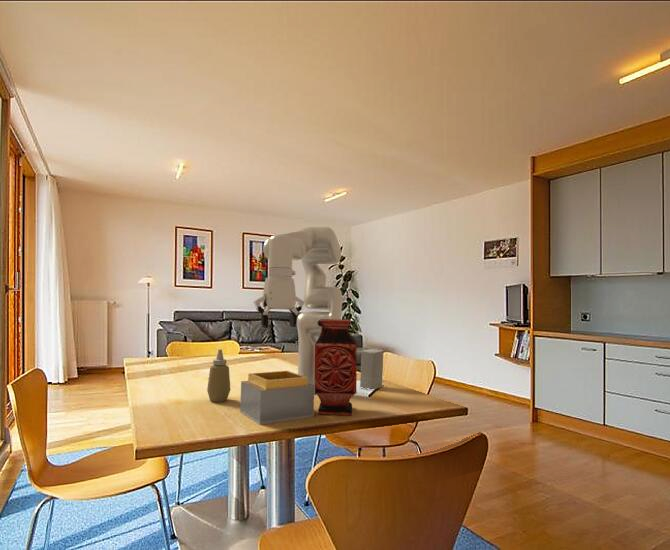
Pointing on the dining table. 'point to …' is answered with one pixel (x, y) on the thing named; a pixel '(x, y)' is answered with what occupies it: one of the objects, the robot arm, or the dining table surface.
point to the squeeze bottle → (219, 379)
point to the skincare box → (371, 368)
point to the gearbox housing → (276, 397)
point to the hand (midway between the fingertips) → (279, 327)
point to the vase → (335, 367)
